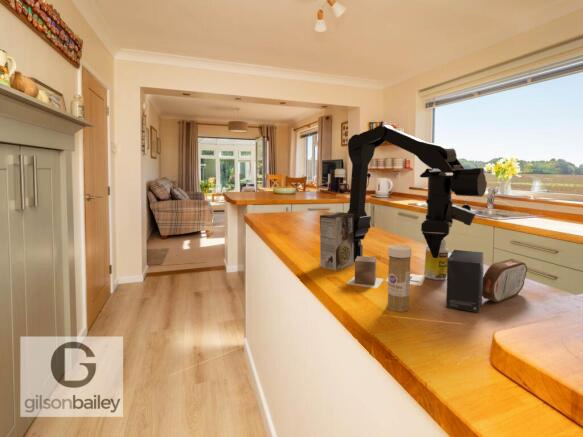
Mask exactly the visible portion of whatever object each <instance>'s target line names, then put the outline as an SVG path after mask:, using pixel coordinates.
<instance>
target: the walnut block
mask: <svg viewBox="0 0 583 437" xmlns="http://www.w3.org/2000/svg"><path fill="white" fill-rule="evenodd" d="M354 276H355V284H366V285H375V281H376V278H377V257H375V256H357V258H356V260H355V261H354Z"/></svg>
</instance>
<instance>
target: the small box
mask: <svg viewBox="0 0 583 437" xmlns="http://www.w3.org/2000/svg"><path fill="white" fill-rule="evenodd" d="M483 277H484V252H483V251H472V250H462V249H461V250H459V249H453V251H452V252H451V254H450V255H448V259H447V276H446V296H445V297H446V298H445V300H446V302H445V307H446V308H449V309H456V310H461V311H462V310H463V311H469V312H476V313H479V311H480V309H481V308H480V307H481V302H482V299H483V296H482V290H483Z"/></svg>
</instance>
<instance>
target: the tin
mask: <svg viewBox="0 0 583 437" xmlns="http://www.w3.org/2000/svg"><path fill="white" fill-rule="evenodd" d="M527 272H528V266H527V264H526V262H524V261H520V260H518V259H517V260H516V259H515V258H509V259H506V260H502V261H496V262H494V263H492V264H491V265H490V266H488V268H487V270H486V271H485V273H484V274H483V290H482V298H484V299H487V300H489V301H491V302H495V303H501V302H502V301H505V300H508V299H510V298H514V297H516V296H517V295H518V294H519V293H520V292H521V291H522V290H523V287H524V285H525V280H526V277H527Z"/></svg>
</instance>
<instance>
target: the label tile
mask: <svg viewBox="0 0 583 437" xmlns="http://www.w3.org/2000/svg"><path fill="white" fill-rule="evenodd" d="M425 279H426V277H425V275H423V274H414V273H410V286H418V287H419V286H420V287H421V286H423V283H424V281H425ZM384 281H385V282H388V277H387V278H386V279H384Z"/></svg>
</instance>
